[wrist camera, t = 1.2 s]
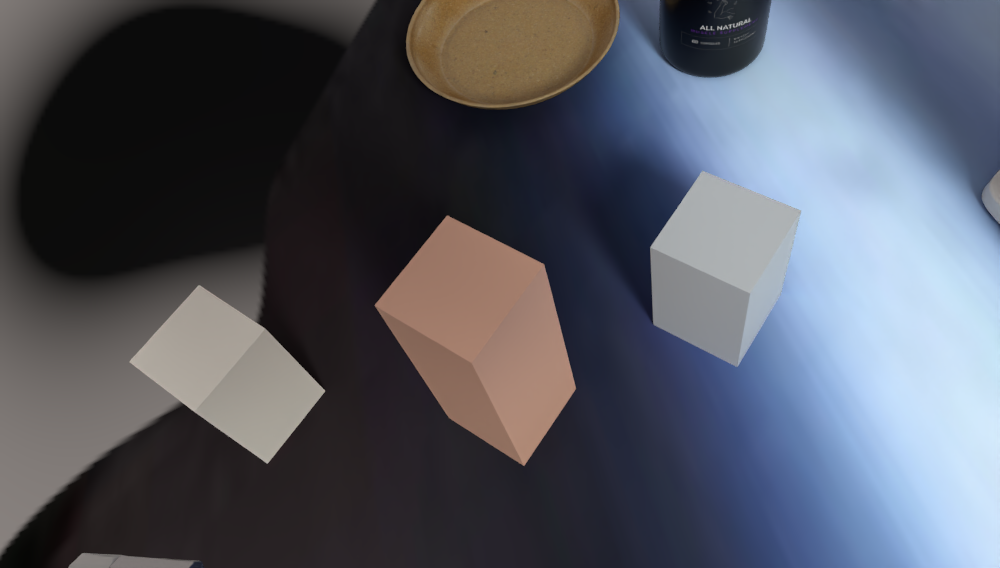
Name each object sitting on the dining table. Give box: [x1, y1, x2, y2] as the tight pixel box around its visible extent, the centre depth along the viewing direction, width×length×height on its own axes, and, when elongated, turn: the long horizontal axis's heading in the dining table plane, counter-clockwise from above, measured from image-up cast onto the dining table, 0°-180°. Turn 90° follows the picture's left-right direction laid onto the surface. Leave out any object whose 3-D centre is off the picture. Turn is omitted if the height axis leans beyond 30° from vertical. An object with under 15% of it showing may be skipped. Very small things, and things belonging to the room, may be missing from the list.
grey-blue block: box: [650, 171, 801, 367], centre depth 41 cm, size 5×5×8 cm
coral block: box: [375, 216, 576, 466], centre depth 38 cm, size 5×5×13 cm
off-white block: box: [129, 285, 325, 464], centre depth 43 cm, size 5×5×8 cm
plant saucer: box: [406, 0, 620, 109], centre depth 56 cm, size 15×15×3 cm
